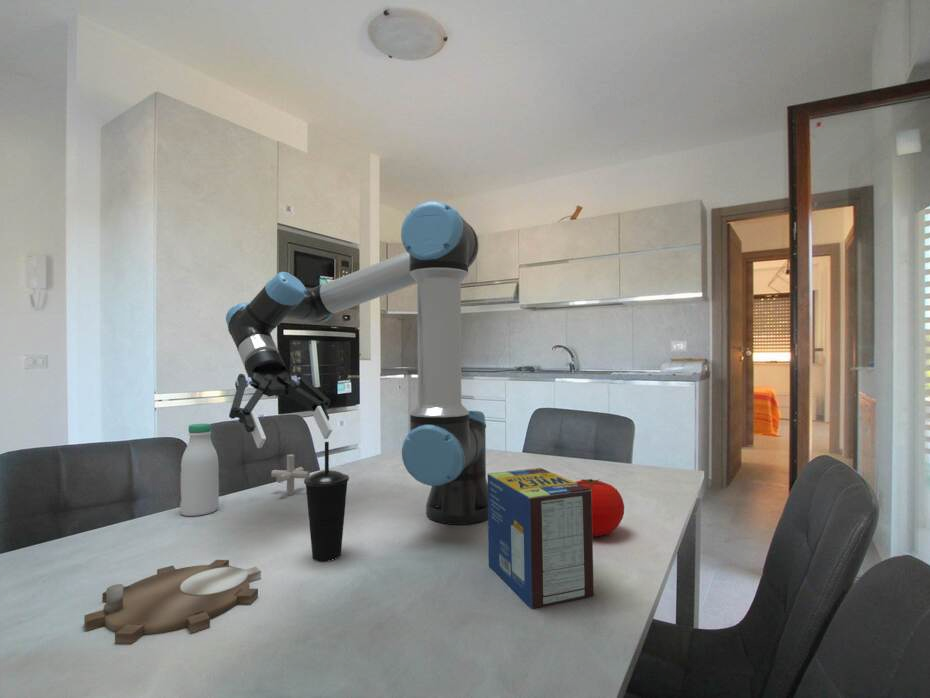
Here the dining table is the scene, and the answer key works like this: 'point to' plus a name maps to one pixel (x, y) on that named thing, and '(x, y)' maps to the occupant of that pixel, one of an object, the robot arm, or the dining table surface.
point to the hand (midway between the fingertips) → (297, 438)
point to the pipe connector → (290, 474)
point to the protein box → (541, 535)
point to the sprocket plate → (173, 600)
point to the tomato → (604, 506)
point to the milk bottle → (199, 473)
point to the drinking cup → (326, 510)
